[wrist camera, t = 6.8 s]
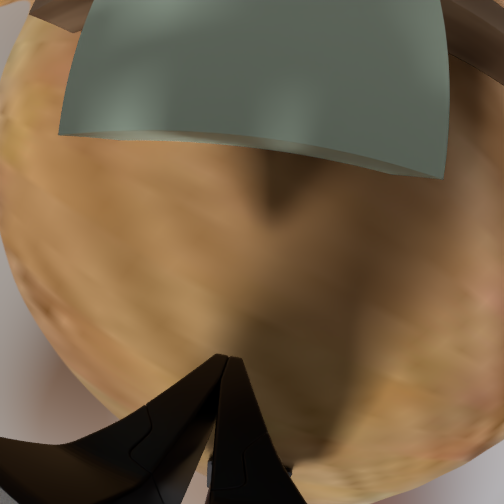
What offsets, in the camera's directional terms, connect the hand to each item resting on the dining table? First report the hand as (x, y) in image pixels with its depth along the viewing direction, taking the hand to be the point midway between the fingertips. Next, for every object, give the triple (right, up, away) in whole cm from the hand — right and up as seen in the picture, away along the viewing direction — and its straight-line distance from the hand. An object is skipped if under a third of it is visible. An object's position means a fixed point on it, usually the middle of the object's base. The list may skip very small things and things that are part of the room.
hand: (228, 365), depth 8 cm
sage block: (+1, +11, +1) cm, 11 cm away
